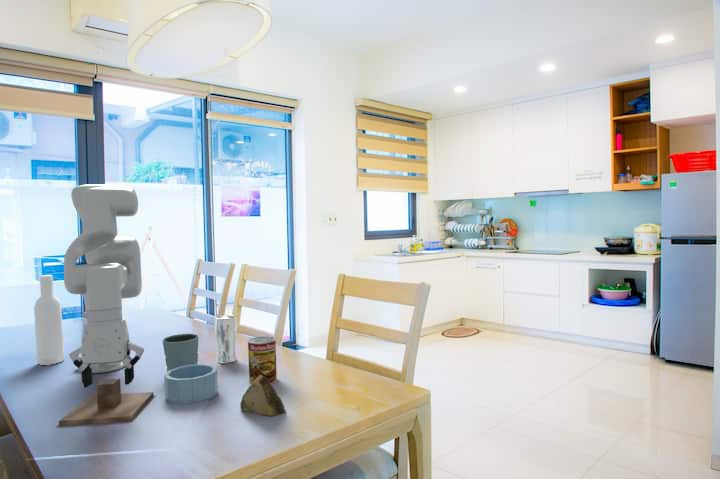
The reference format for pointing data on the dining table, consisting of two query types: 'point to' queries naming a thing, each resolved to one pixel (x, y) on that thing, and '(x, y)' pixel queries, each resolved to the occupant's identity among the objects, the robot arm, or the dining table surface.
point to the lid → (107, 405)
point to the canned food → (262, 358)
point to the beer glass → (226, 338)
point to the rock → (262, 398)
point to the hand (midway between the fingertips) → (108, 384)
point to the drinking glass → (180, 350)
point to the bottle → (48, 325)
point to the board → (113, 422)
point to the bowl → (191, 383)
